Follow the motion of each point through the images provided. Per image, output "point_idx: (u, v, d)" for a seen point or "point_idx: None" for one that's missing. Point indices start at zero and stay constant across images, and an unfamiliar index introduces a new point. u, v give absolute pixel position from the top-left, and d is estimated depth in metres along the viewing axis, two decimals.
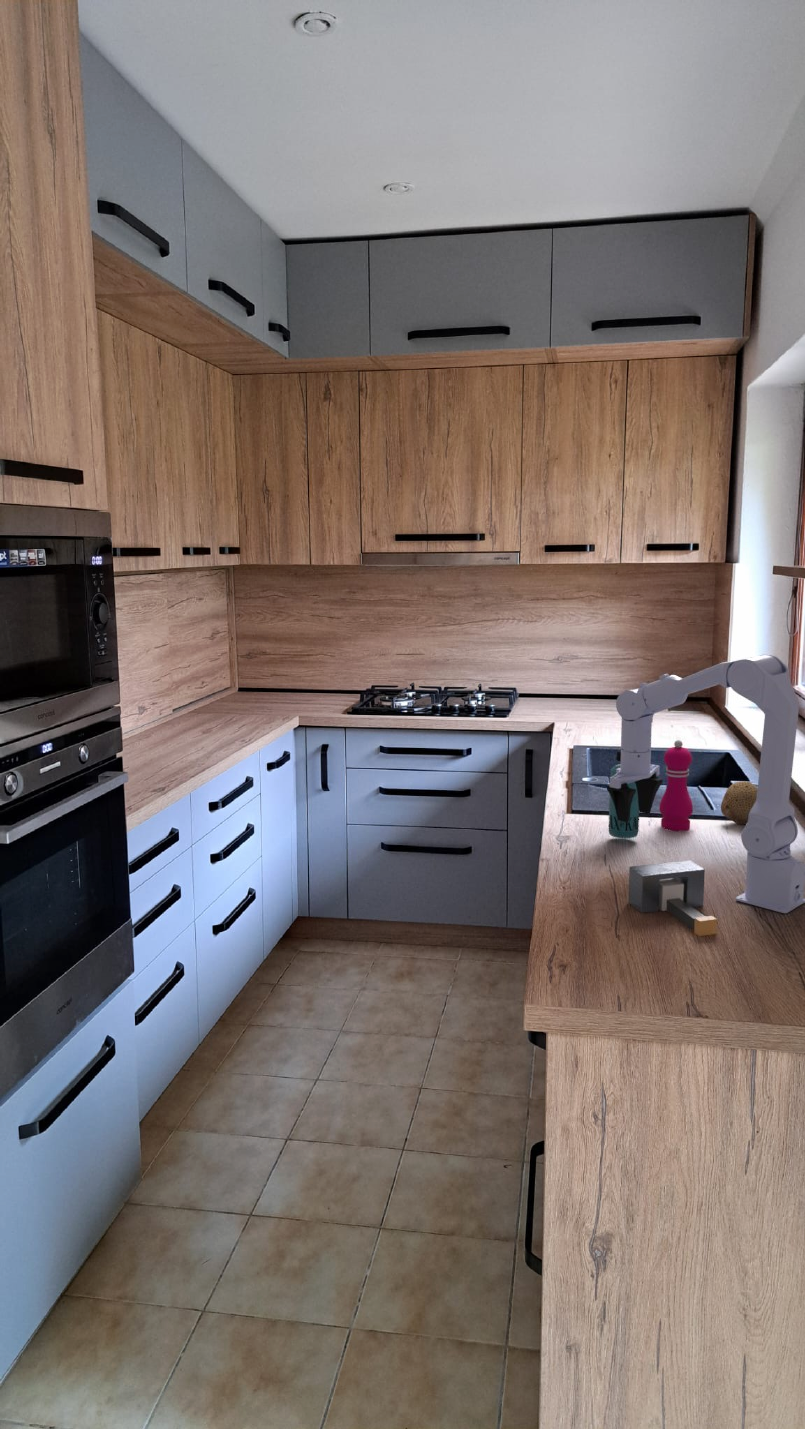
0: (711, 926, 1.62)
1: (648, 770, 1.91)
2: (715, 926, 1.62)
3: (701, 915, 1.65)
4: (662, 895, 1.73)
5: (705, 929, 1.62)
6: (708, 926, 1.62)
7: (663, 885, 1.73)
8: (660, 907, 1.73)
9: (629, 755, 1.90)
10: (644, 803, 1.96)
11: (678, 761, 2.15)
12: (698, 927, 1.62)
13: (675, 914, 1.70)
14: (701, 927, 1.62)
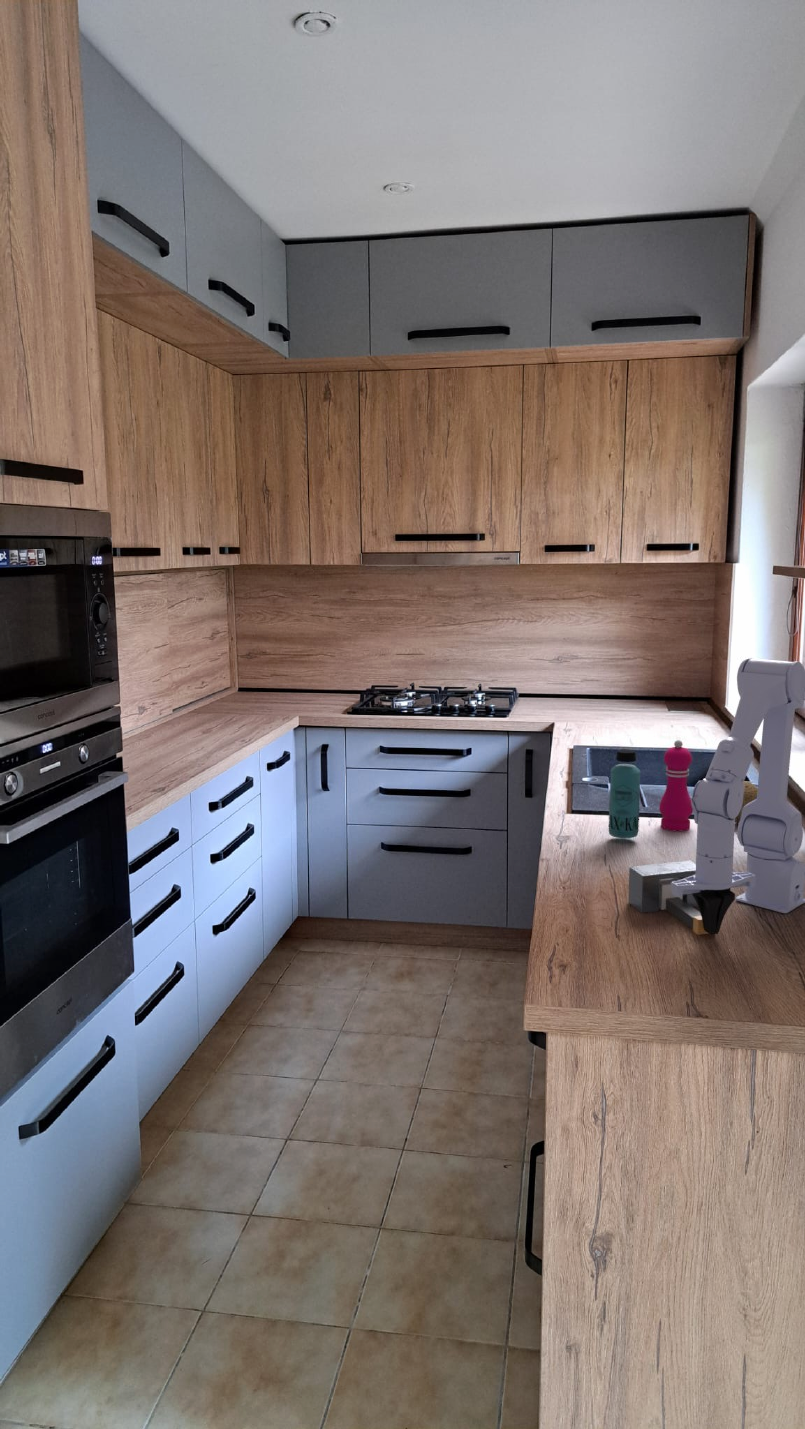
0: None
1: (725, 880, 1.57)
2: None
3: (700, 914, 1.66)
4: (661, 894, 1.73)
5: None
6: None
7: (662, 884, 1.73)
8: (660, 906, 1.74)
9: (700, 859, 1.58)
10: None
11: (678, 761, 2.15)
12: (697, 926, 1.62)
13: (674, 913, 1.70)
14: (700, 926, 1.62)
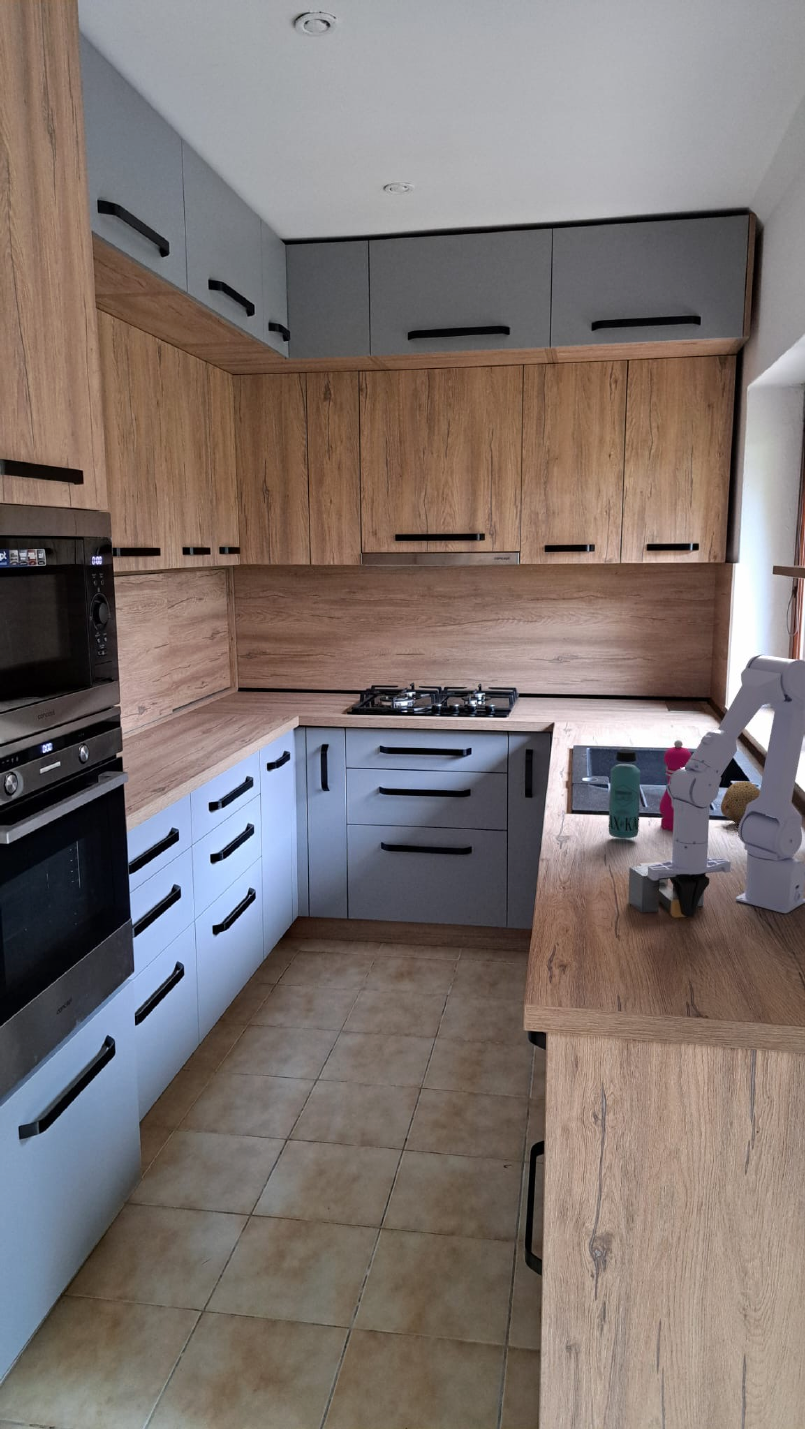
0: None
1: (699, 865, 1.64)
2: None
3: None
4: None
5: (680, 911, 1.70)
6: None
7: None
8: None
9: (676, 844, 1.65)
10: None
11: (678, 761, 2.15)
12: (673, 909, 1.70)
13: None
14: (676, 909, 1.70)
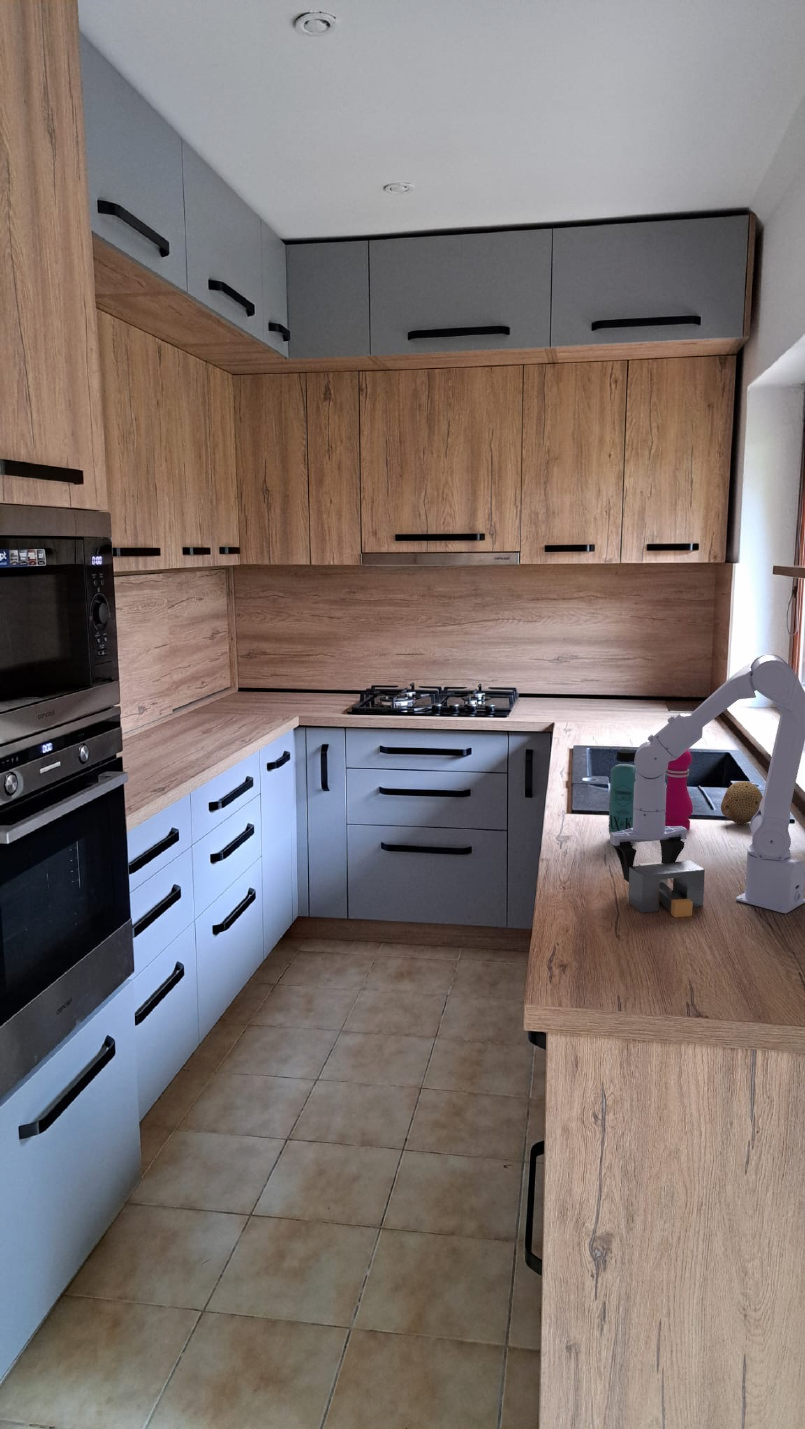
0: (687, 908, 1.70)
1: (657, 831, 1.78)
2: (690, 908, 1.70)
3: (679, 898, 1.73)
4: None
5: (681, 911, 1.70)
6: (683, 908, 1.70)
7: None
8: None
9: (636, 812, 1.79)
10: None
11: (678, 761, 2.15)
12: (674, 909, 1.70)
13: None
14: (677, 909, 1.70)
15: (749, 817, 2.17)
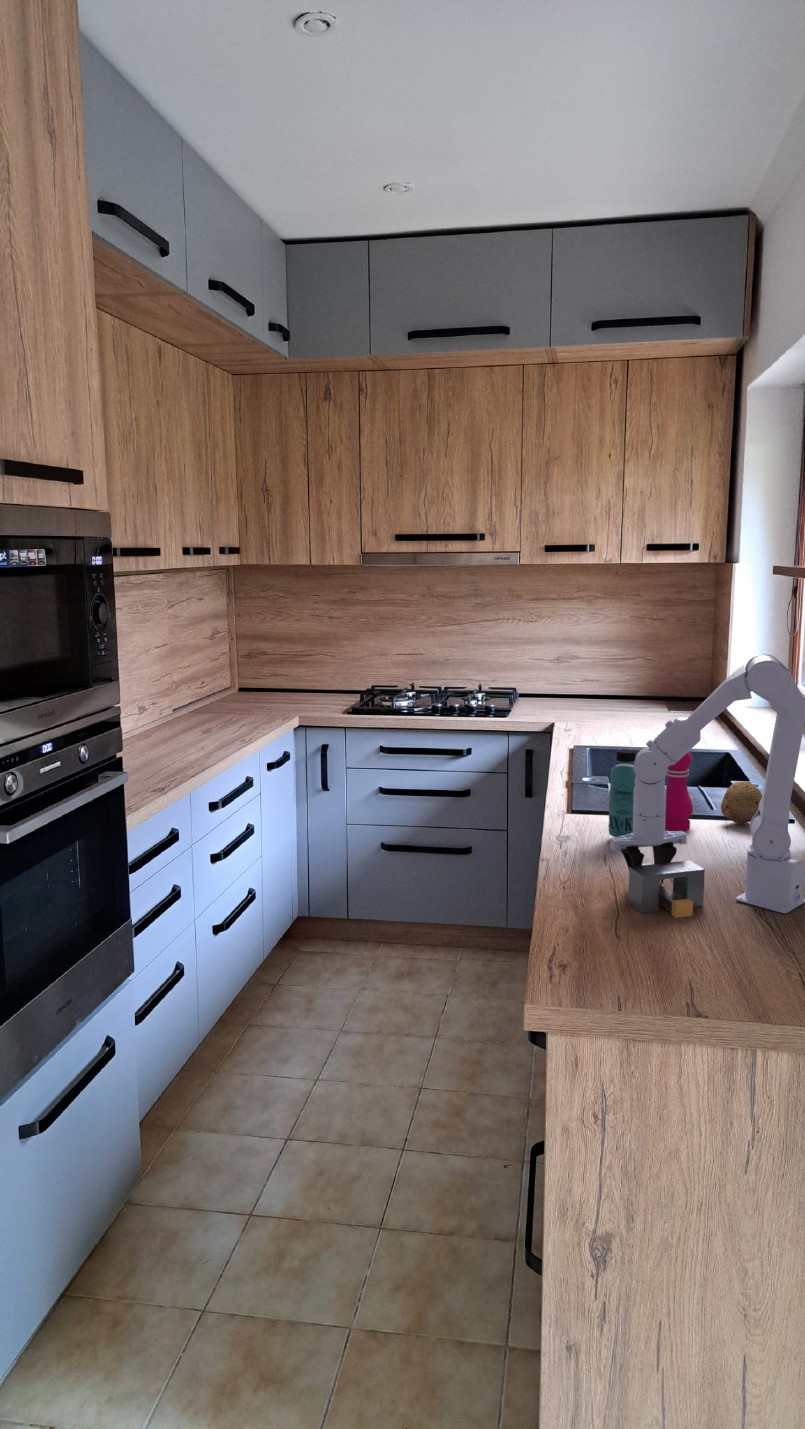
0: (687, 908, 1.70)
1: (657, 837, 1.78)
2: (691, 908, 1.70)
3: (678, 898, 1.73)
4: None
5: (682, 911, 1.70)
6: (684, 908, 1.70)
7: None
8: None
9: (636, 818, 1.79)
10: None
11: (678, 761, 2.15)
12: (675, 909, 1.69)
13: None
14: (678, 909, 1.69)
15: (749, 817, 2.17)
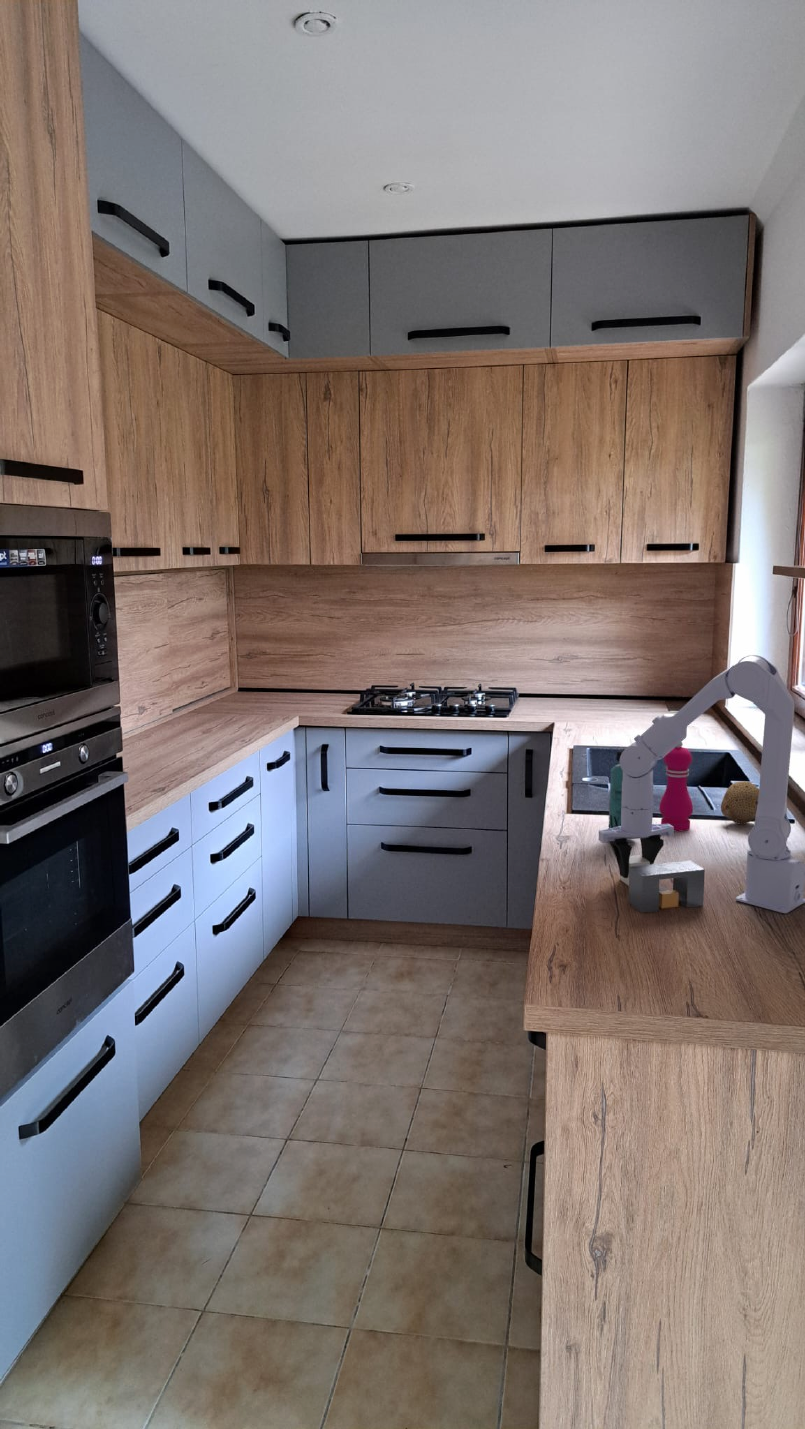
0: (673, 899, 1.74)
1: (644, 829, 1.82)
2: (676, 899, 1.74)
3: (664, 889, 1.77)
4: None
5: (667, 902, 1.74)
6: (670, 899, 1.74)
7: (630, 862, 1.84)
8: (628, 883, 1.85)
9: (624, 811, 1.83)
10: None
11: (678, 761, 2.15)
12: (661, 900, 1.74)
13: None
14: (664, 900, 1.74)
15: (749, 817, 2.17)
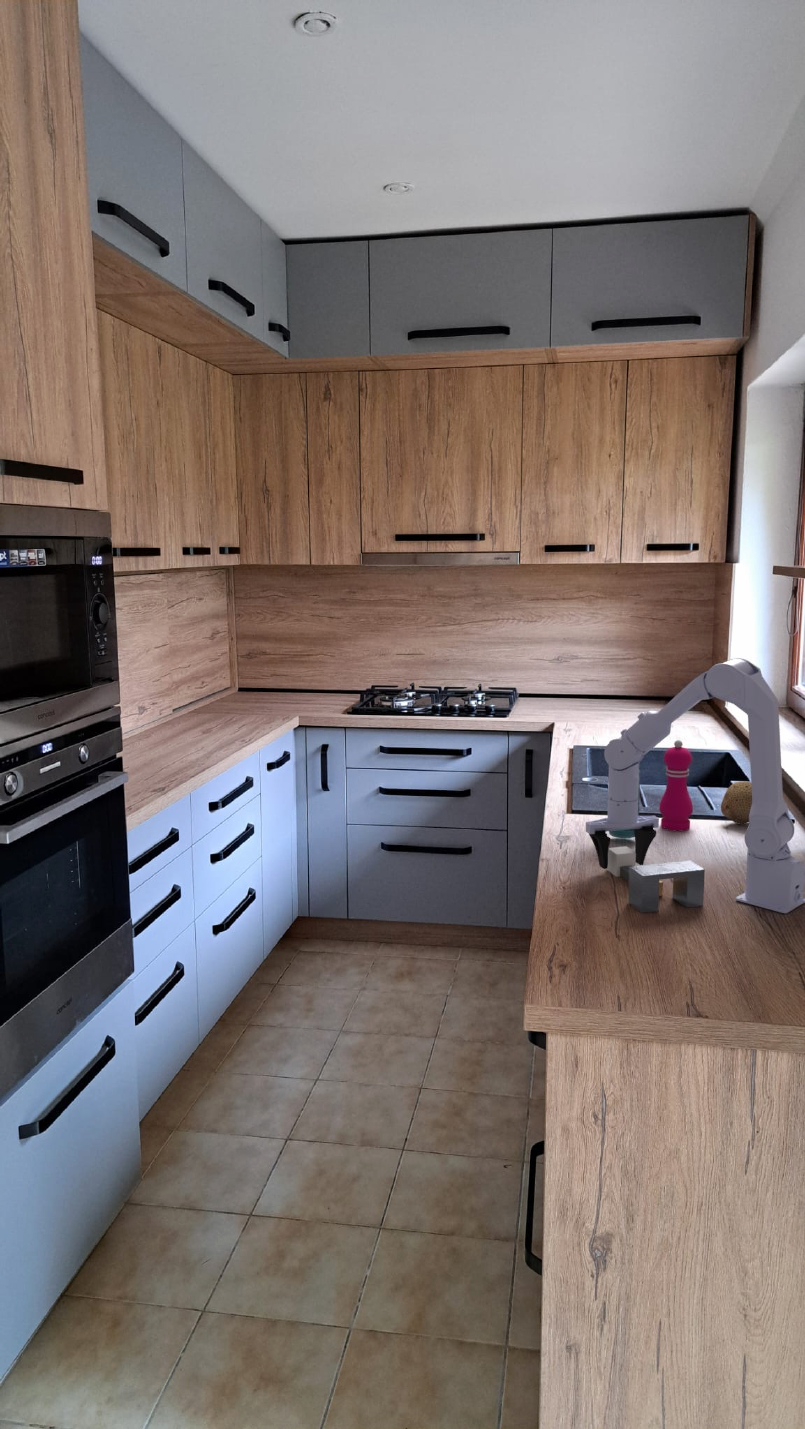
0: None
1: (630, 820, 1.88)
2: (661, 888, 1.80)
3: None
4: (616, 863, 1.90)
5: None
6: None
7: (617, 853, 1.90)
8: (615, 873, 1.91)
9: (610, 803, 1.89)
10: (638, 854, 1.93)
11: (678, 761, 2.15)
12: None
13: (627, 879, 1.87)
14: None
15: None
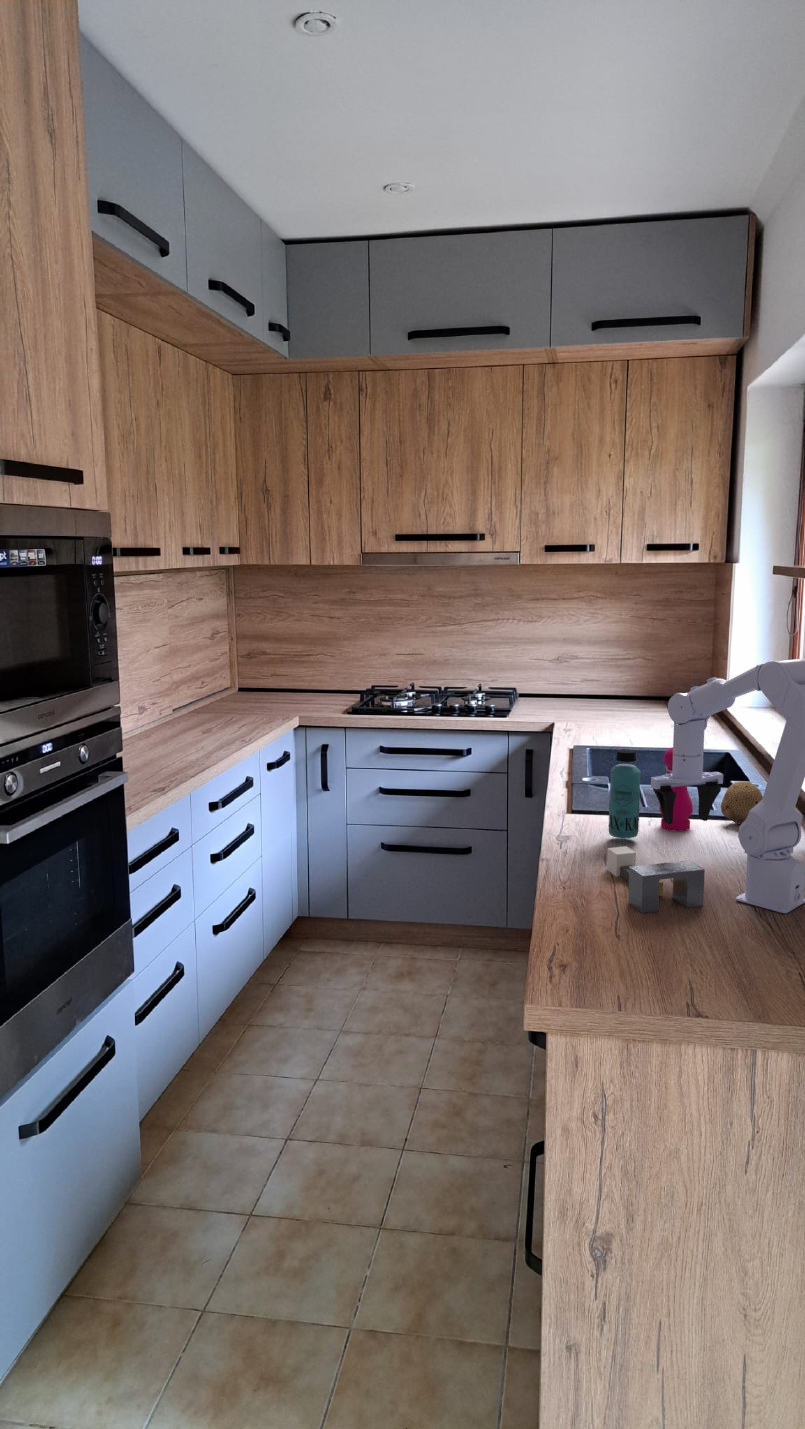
0: None
1: (696, 775, 1.89)
2: (661, 888, 1.80)
3: None
4: (616, 863, 1.90)
5: None
6: None
7: (617, 853, 1.90)
8: (615, 873, 1.91)
9: (676, 758, 1.90)
10: (702, 810, 1.94)
11: None
12: None
13: (627, 879, 1.87)
14: None
15: None
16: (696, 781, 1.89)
